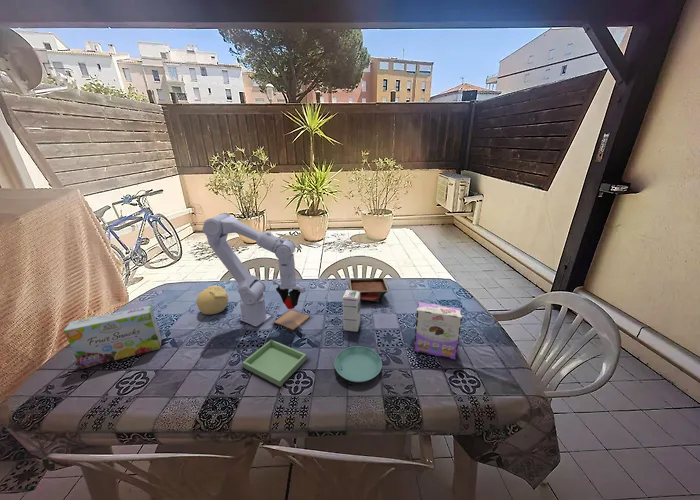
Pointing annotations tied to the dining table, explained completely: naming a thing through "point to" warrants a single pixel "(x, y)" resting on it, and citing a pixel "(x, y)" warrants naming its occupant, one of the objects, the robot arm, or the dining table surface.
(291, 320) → the board
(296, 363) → the tray
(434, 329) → the candy box
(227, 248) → the robot arm
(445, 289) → the dining table surface
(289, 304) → the strawberry
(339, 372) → the saucer
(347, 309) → the syrup box
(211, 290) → the sculpture
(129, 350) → the snack box
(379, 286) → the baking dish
